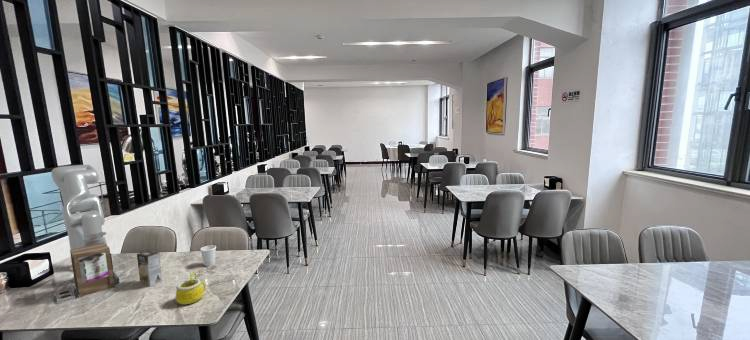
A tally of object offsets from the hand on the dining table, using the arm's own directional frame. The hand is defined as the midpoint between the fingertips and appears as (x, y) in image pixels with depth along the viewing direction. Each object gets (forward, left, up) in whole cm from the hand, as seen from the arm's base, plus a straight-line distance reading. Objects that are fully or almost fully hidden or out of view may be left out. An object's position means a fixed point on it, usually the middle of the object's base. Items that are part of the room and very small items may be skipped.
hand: (98, 269), depth 173 cm
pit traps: (+13, -15, -5) cm, 20 cm away
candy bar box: (+13, -3, -5) cm, 14 cm away
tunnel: (+13, -4, -5) cm, 14 cm away
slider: (+8, -2, -5) cm, 9 cm away
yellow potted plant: (+65, +23, -5) cm, 69 cm away
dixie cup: (+29, +45, -5) cm, 54 cm away
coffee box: (+29, +16, -5) cm, 34 cm away
